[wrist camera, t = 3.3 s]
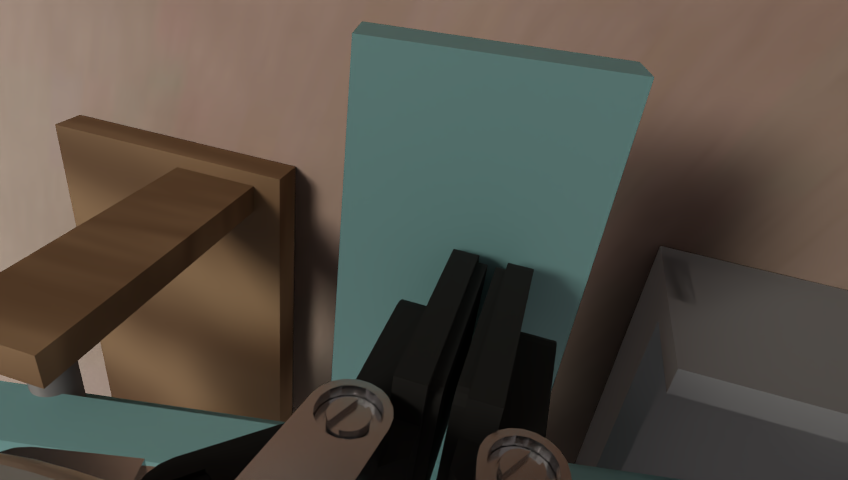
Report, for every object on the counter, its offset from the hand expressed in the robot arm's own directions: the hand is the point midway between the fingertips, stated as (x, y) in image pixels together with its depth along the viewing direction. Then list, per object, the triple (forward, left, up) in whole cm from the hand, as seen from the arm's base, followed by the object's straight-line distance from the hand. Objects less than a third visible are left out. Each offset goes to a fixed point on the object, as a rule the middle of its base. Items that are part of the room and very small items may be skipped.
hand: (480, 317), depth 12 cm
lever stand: (+9, -13, -8) cm, 18 cm away
